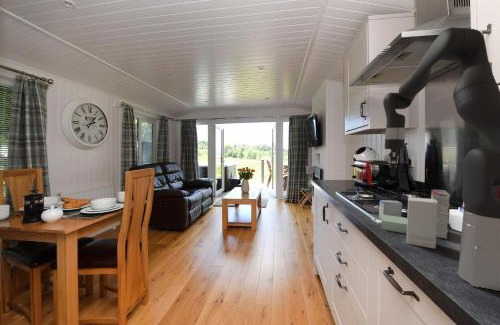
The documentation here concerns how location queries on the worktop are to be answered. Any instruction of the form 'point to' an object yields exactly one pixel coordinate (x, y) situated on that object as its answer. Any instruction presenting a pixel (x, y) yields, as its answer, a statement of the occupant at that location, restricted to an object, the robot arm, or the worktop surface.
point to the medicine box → (390, 208)
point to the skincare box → (422, 222)
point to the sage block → (394, 223)
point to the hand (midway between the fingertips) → (392, 174)
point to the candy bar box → (442, 212)
